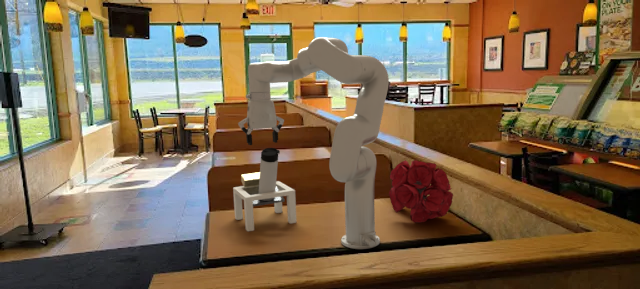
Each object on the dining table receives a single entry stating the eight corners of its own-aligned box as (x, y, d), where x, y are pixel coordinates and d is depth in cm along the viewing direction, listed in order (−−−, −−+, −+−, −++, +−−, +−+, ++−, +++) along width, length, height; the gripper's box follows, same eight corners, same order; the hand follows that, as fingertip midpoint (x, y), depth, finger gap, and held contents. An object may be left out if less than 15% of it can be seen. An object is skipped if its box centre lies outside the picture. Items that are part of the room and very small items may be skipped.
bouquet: (377, 232, 172) (414, 214, 146) (367, 175, 181) (400, 147, 154) (425, 228, 179) (469, 210, 153) (413, 173, 188) (453, 147, 161)
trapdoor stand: (296, 222, 167) (295, 190, 165) (247, 231, 159) (245, 197, 157) (280, 210, 183) (278, 181, 181) (235, 218, 175) (233, 187, 173)
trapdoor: (284, 201, 168) (285, 191, 166) (251, 206, 163) (251, 196, 161) (271, 180, 180) (271, 170, 178) (239, 184, 175) (240, 174, 173)
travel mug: (274, 202, 165) (278, 155, 156) (257, 200, 165) (260, 153, 156) (276, 193, 171) (280, 147, 162) (259, 191, 171) (262, 145, 162)
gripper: (239, 98, 155) (242, 147, 157) (286, 96, 162) (288, 142, 164) (234, 98, 161) (237, 144, 164) (279, 95, 169) (281, 140, 171)
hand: (262, 143), depth 164 cm, fingers open, 9 cm apart
